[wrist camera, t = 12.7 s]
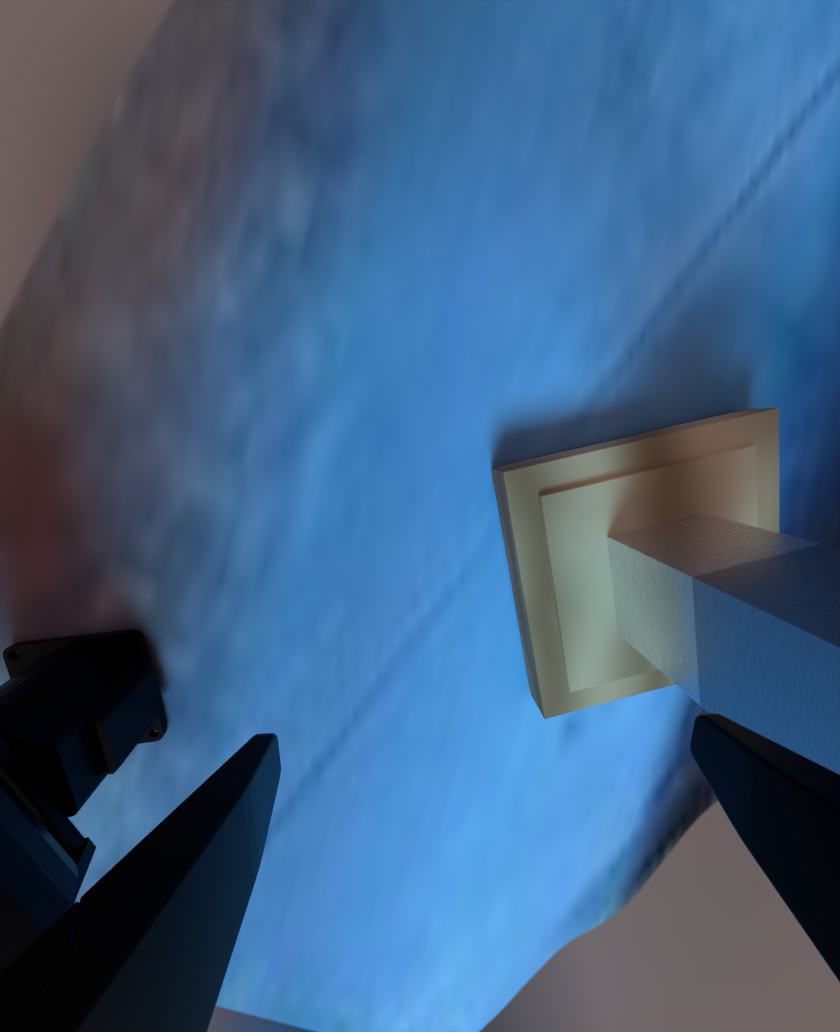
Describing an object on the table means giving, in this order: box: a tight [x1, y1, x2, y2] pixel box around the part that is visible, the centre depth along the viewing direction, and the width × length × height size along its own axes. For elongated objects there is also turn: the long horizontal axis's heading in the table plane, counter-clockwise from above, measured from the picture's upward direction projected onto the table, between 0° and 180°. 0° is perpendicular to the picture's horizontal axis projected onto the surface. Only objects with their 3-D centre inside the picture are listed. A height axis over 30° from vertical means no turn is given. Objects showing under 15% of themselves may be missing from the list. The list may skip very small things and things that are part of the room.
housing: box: [607, 513, 840, 775], centre depth 15 cm, size 5×6×11 cm
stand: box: [492, 408, 779, 719], centre depth 21 cm, size 14×14×2 cm
